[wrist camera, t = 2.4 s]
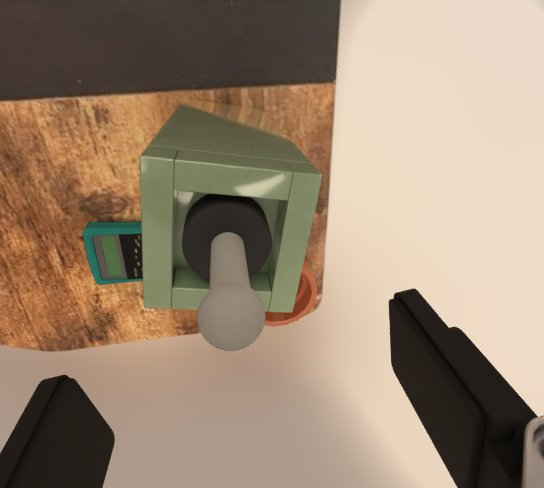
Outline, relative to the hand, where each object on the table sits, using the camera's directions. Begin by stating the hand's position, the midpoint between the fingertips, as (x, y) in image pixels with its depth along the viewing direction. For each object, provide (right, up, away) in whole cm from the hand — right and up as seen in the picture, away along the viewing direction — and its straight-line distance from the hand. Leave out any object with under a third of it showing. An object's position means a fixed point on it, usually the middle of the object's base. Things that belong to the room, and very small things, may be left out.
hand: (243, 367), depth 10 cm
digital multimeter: (-13, +3, +31) cm, 34 cm away
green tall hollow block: (-4, +14, +27) cm, 31 cm away
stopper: (-2, +4, +8) cm, 10 cm away
